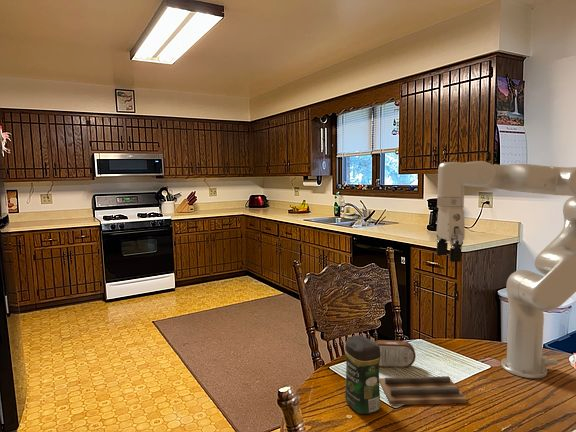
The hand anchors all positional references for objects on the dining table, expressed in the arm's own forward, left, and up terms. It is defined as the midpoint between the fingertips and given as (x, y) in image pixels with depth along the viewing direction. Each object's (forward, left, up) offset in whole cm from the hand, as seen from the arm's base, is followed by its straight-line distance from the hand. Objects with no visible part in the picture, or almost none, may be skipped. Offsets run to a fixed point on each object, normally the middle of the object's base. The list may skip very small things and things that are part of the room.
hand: (448, 258), depth 123 cm
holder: (+12, +12, -36) cm, 40 cm away
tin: (+16, -4, -37) cm, 40 cm away
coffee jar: (+30, +18, -37) cm, 51 cm away
